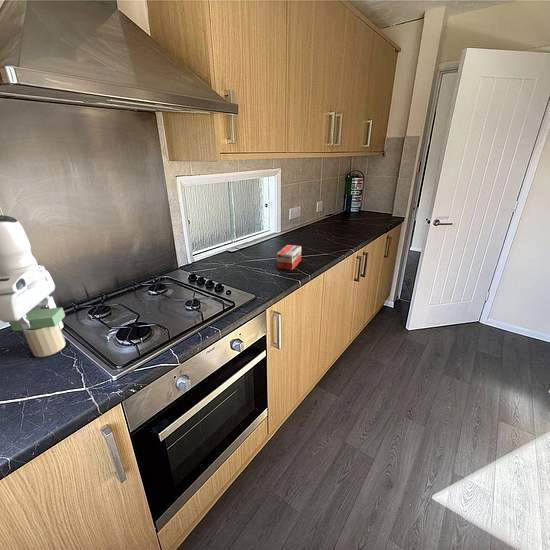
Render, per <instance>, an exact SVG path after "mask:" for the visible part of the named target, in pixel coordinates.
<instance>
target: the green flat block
mask: <svg viewBox="0 0 550 550" xmlns="http://www.w3.org/2000/svg"><path fill="white" fill-rule="evenodd" d="M26 316H27V317H26V319H27V320H28V321H29V320H31V322H32V324H33V325H32V326H31V327H30V328H29V329H36V328H45V327H55V326H56V325H57V324H58V323H59V322H60V321H63V319H64V318H65V317H66V314H65V311H64V308H63V307H62V306H61V307H56V308H51V309H41V310H31V311H29V312H28V313H27V314H26ZM8 323H9V326H10V328H11V330H12V332H15V331H22V330H27V329H23V328H22V326H21V324H20V323H18V322H16V321H14V322H8Z"/></svg>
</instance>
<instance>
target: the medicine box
mask: <svg viewBox="0 0 550 550" xmlns="http://www.w3.org/2000/svg"><path fill="white" fill-rule="evenodd" d="M300 262H302V246H301V245H293V244H286V245H285V246H284V247H283V248H281V249H280V250H279V251H278V252H277V253H276V269H279V270H286V271H293V270H294V269H295V268H296V267H297V266H298V265H299V264H300Z"/></svg>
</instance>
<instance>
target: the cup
mask: <svg viewBox="0 0 550 550" xmlns="http://www.w3.org/2000/svg"><path fill="white" fill-rule="evenodd" d="M21 331H22V333H23V335H24V337H25V340H26V342H27V345H28V346H29V349H30V352H31V353H32V355H33V356H34V357H36V358H44V357H48V356H52V355H54V354H57V353H58V352H60V351H62V350H63V349H64V348H65V347H66V346H67V345H66V344H67V343H66V342H67V341H66V339H65V337H64V333H63V331H62V329H61V328H60V325H59V323H58V324H57V325H56V326H55V327H45V328H36V329H27V330H21Z"/></svg>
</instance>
